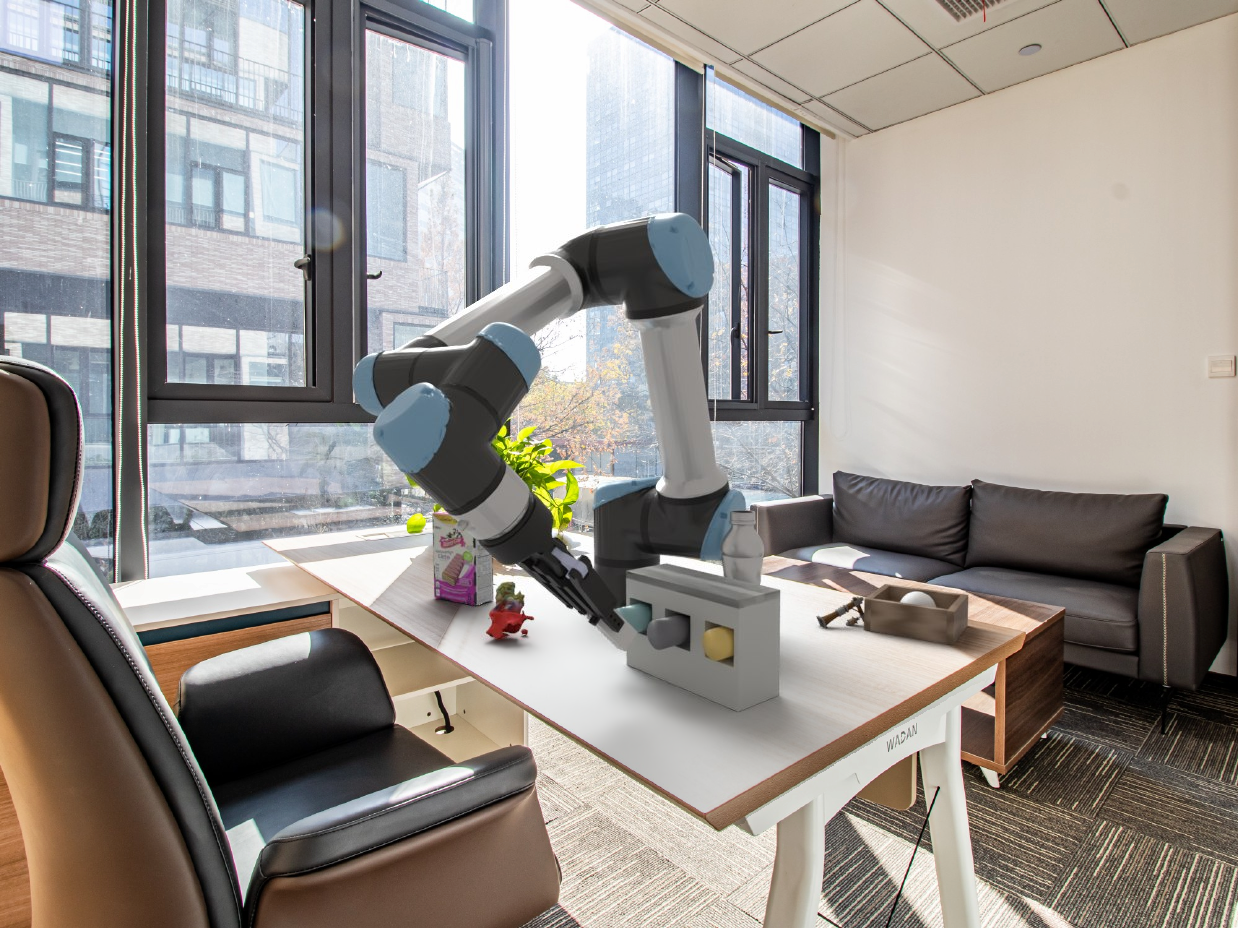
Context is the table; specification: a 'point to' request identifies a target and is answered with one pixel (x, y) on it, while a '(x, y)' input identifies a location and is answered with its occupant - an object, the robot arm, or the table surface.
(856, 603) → the wooden post with brackets
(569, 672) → the table surface
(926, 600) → the white egg
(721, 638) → the amber button
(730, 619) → the console
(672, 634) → the charcoal button
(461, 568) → the candy bar box
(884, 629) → the organizer frame
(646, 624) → the teal button
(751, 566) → the plastic bottle
